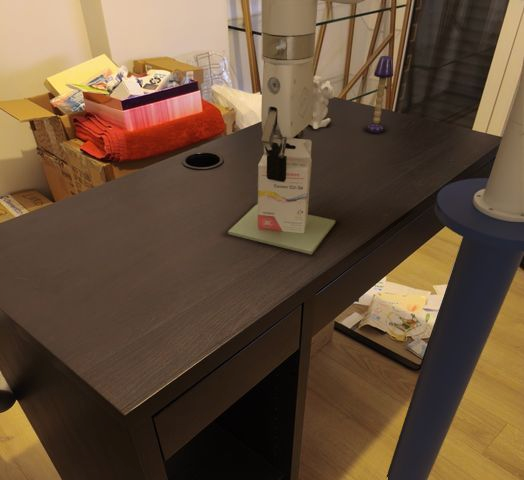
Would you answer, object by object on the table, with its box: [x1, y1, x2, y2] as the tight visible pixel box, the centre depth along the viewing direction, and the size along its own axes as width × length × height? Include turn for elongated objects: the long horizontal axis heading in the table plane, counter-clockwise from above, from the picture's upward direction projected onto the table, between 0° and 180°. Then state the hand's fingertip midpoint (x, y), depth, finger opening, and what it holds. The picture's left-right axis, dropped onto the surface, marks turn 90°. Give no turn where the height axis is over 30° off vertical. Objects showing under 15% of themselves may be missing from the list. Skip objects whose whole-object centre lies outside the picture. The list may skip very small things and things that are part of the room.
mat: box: [227, 203, 336, 255], centre depth 87 cm, size 16×12×1 cm
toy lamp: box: [366, 55, 394, 134], centre depth 119 cm, size 5×5×17 cm
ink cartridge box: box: [257, 138, 313, 233], centre depth 81 cm, size 9×5×15 cm, turn 79°
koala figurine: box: [308, 75, 336, 130], centre depth 123 cm, size 8×7×12 cm
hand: (284, 171), depth 80 cm, fingers closed on ink cartridge box, 5 cm apart
